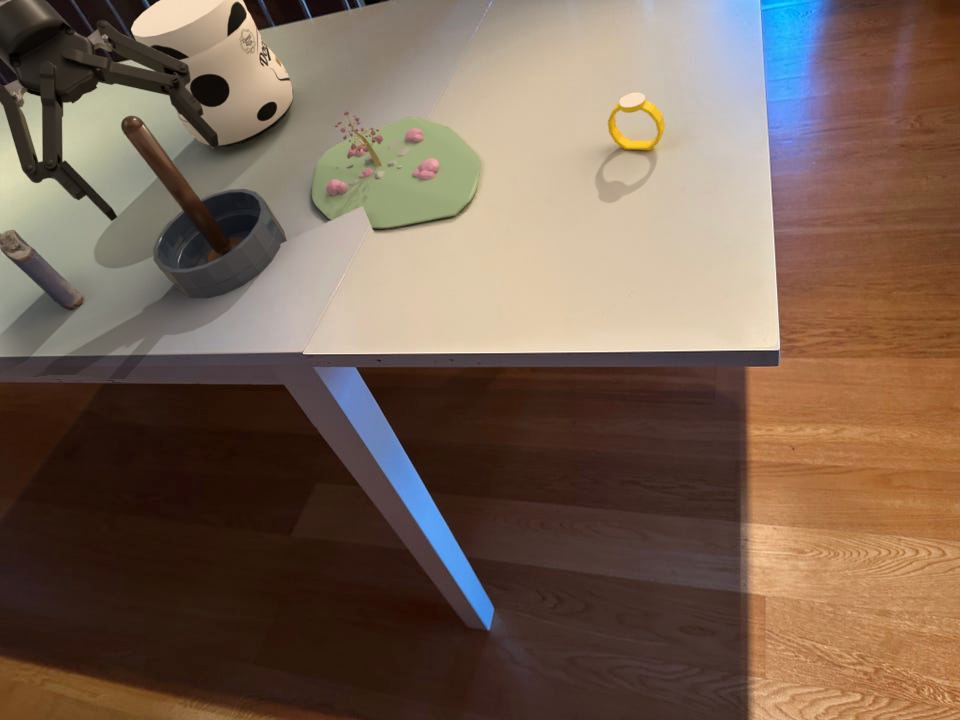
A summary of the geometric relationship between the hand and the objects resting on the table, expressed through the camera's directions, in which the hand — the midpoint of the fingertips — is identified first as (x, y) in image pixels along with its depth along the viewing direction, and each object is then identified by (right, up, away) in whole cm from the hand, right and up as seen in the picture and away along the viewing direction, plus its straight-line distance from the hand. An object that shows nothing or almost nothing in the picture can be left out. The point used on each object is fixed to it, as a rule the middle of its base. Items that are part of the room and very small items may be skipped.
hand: (165, 177), depth 72 cm
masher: (+4, -8, +9) cm, 12 cm away
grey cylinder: (-20, -11, +16) cm, 28 cm away
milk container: (-2, +17, +32) cm, 36 cm away
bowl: (+4, -8, +9) cm, 13 cm away
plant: (+24, +4, +12) cm, 27 cm away
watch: (+52, +4, +3) cm, 52 cm away
